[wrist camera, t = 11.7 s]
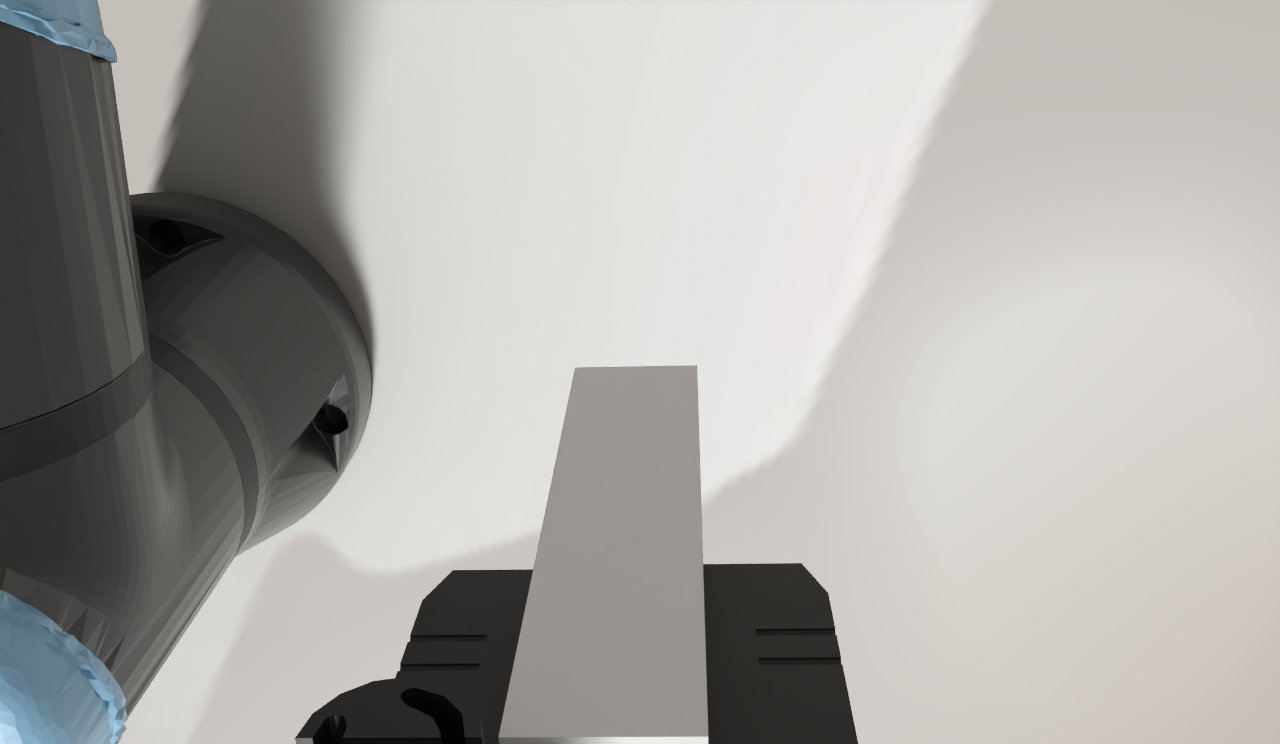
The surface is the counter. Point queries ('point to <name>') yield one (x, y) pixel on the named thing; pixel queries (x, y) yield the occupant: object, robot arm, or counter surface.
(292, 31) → the counter surface
